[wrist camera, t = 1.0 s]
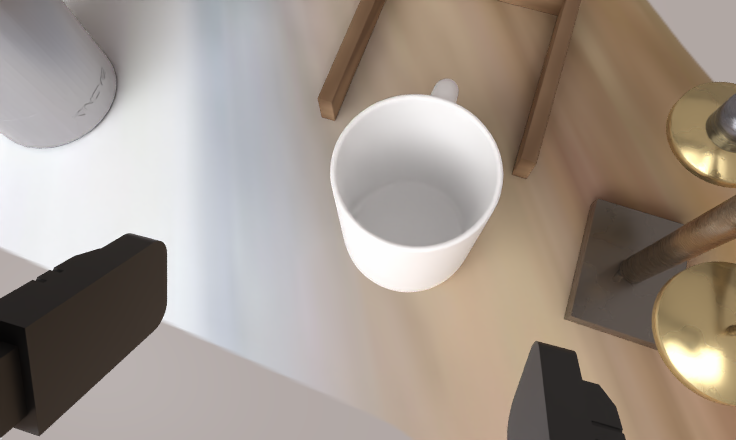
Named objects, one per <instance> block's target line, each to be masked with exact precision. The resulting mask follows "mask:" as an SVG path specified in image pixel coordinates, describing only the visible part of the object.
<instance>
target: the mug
mask: <svg viewBox="0 0 736 440" xmlns="http://www.w3.org/2000/svg"><path fill="white" fill-rule="evenodd" d="M457 97H458V86H457V84H456V82H455V81H454V80H451V79H442V80H440V81H439V82H438V83H437V84H436V85H435V87H434V89H433V91H432V93H431V95H423V94H407V95H399V96H394V97H390V98H387V99H384V100H381V101H379V102H377V103H375V104H373V105H371V106H369V107H367V108H366V109H364V110H363V111H361V112H360V113H359V114H358V115H357V116H356V117H354V118H353V119H352V120H351V122H350V123H349V124H348V125H347V126H346V127H345V129H344V130H343V132H342V133H341V135H340V137H339V139H338V141H337V143H336V145H335V148H334V151H333V154H332V159H331V166H330V177H331V186H332V190H333V194H334V199H335V203H336V207H337V211H338V216H339V220H340V224H341V228H342V233H343V237H344V241H345V245H346V248H347V250H348V253H349V255H350V257H351V259H352V260H353V262H354V264H355V265H356V266H357V268H358V269H359V270H360V271H361V272H362V273H363V274H364V275H365V276H366V277H367V278H369V279H370V280H371V281H373V282H374V283H376V284H378V285H380V286H382V287H384V288H387V289H390V290H394V291H400V292H417V291H423V290H426V289H430V288H432V287H435V286H437V285H439V284H441V283H442V282H444V281H446V280H447V279H448V278H449V277H451V276H452V275H453V274H454V273H455V272H456V271H457V270H458V269H459V267H460V266H461V265H462V263H463V262H464V260H465V259H466V257H467V255H468V254H469V252H470V250H471V249H472V247H473V245H474V243H475V242H476V240H477V238H478V237H479V235H480V233H481V232H482V230H483V228H484V226H485V225H486V223H487V221H488V220H489V218H490V216H491V215H492V213H493V211H494V209H495V207H496V205H497V203H498V200H499V198H500V195H501V190H502V185H503V164H502V160H501V155H500V152H499V149H498V147H497V144H496V142H495V140H494V138H493V137H492V135H491V133H490V132H489V131H488V129H487V128H486V126H485V125H484V124H483V123H482V122H481V121H480V120H479V119H478V118H477V117H476V116H475V115H473V114H472V113H471V112H470V111H468V110H467V109H465V108H464V107H462V106H460V105H458V104H456V102H457Z"/></svg>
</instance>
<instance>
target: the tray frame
mask: <svg viewBox="0 0 736 440" xmlns="http://www.w3.org/2000/svg"><path fill="white" fill-rule="evenodd" d="M499 1H502V2H506V3H510V4H514V5H518V6H522V7H526V8H530V9H533V10H537V11H541V12H545V13H549V14H553V15H557V16H558V17H557V20H556V24H555V27H554V30H553V34H552V37H551V41H550V44H549V48H548V51H547V55H546V58H545V62H544V65H543V69H542V72H541V76H540V79H539V82H538V86H537V89H536V93H535V96H534V100H533V103H532V107H531V110H530V114H529V117H528V121H527V124H526V128H525V131H524V135H523V138H522V141H521V145H520V148H519V152H518V155H517V159H516V162H515V166H514V169H513V173H512V175H516V176H519V177H522V178H527V177H528V175H529V174H530V172H531V171H532V169H533V168H534V166H535V165H536V163H537V159H538V156H539V152H540V148H541V145H542V141H543V138H544V134H545V130H546V127H547V123H548V119H549V116H550V112H551V108H552V105H553V101H554V97H555V94H556V90H557V86H558V83H559V79H560V76H561V72H562V68H563V65H564V61H565V57H566V54H567V50H568V46H569V43H570V39H571V35H572V32H573V28H574V24H575V21H576V17H577V14H578V10H579V6H580V3H581V0H499ZM384 3H385V0H361V1H360V3H359V5H358V8H357V10H356V12H355V14H354V17H353V19H352V21H351V24H350V26H349V28H348V30H347V33H346V35H345V37H344V39H343V42H342V44H341V46H340V49H339V51H338V53H337V55H336V58H335V60H334V62H333V65H332V67H331V69H330V71H329V74H328V76H327V78H326V80H325V83H324V85H323V87H322V90H321V92H320V94H319V96H318V102H319V106H320V111H321V116H322V117H323V118H327V119H330V120H333V121H335V119H336V117H337V115H338V112H339V110H340V107H341V105H342V103H343V100H344V98H345V95H346V93H347V91H348V88H349V86H350V84H351V81H352V79H353V76H354V74H355V72H356V69H357V67H358V65H359V62H360V60H361V57H362V55H363V53H364V50H365V48H366V46H367V43H368V41H369V38H370V36H371V34H372V31H373V29H374V27H375V24H376V22H377V19H378V17H379V15H380V12H381V10H382V7H383V5H384Z"/></svg>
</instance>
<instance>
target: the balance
mask: <svg viewBox="0 0 736 440" xmlns="http://www.w3.org/2000/svg"><path fill="white" fill-rule="evenodd" d="M666 134H667V139H668V142H669V145H670V148H671V150H672V152H673V153H674V155H675V156H676V158H677V159H678V160H679V162H680V163H681V164H682V165H683V166H684V167H685V168H686V169H687V170H688V171H690V172H691V173H692V174H694V175H695V176H697V177H699V178H700V179H702V180H704V181H706V182H709V183H711V184H714V185H718V186H722V187H729V188H736V84H734V83H727V82H712V83H706V84H702V85H699V86H697V87H694V88H693V89H691V90H689V91H688V92H687V93H685V94H684V95H683V96H682V97H681V98H680V99H679V100H678V101H677V102H676V103H675V104H674V106H673V107H672V109H671V110H670V113H669V115H668V118H667V123H666ZM735 238H736V195H735V196H733V197H732V198H730V199H728V200H726V201H725V202H723V203H721V204H720V205H718V206H716V207H714V208H713V209H711V210H709V211H708V212H706V213H704V214H702V215H701V216H699V217H697V218H696V219H694V220H692V221H690V222H689V223H687V224H685V225H684V224H680V223H677V222H674V221H670V220H667V219H664V218H660V217H657V216H654V215H650V214H647V213H644V212H640V211H637V210H634V209H630V208H627V207H624V206H621V205H617V204H614V203H611V202H607V201H604V200H601V199H597V200H596V201H595V202H594V203H592V204H591V206H590V210H589V215H588V219H587V223H586V227H585V232H584V236H583V240H582V245H581V249H580V253H579V258H578V262H577V266H576V271H575V275H574V279H573V284H572V288H571V292H570V297H569V301H568V305H567V309H566V314H565V318H564V319H566V320H569V321H572V322H575V323H578V324H581V325H584V326H587V327H590V328H593V329H596V330H599V331H602V332H605V333H608V334H611V335H614V336H617V337H620V338H623V339H626V340H629V341H632V342H635V343H638V344H641V345H644V346H647V347H650V348H653V349H656V350H658V351H659V354H660V356H661V358H662V359H663V361H664V363H665V364H666V366H667V367H668V368H669V370H670V371H671V372H672V374H673V375H674V376H675V377H676V378H677V379H678V380H679V381H680V382H681V383H682V384H683V385H685V386H686V387H687V388H688V389H690V390H691V391H693V392H694V393H696V394H698V395H699V396H701V397H703V398H705V399H708V400H710V401H712V402H716V403H719V404H723V405H729V406H736V264H734V263H728V262H707V263H702V264H698V265H695V266H692V267H690V268H688V269H686V265H687V261H688V260H690V259H692V258H694V257H696V256H698V255H701V254H703V253H705V252H707V251H709V250H711V249H714V248H716V247H718V246H720V245H722V244H725V243H727V242H729V241H731V240H733V239H735Z"/></svg>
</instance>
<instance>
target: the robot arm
mask: <svg viewBox="0 0 736 440" xmlns="http://www.w3.org/2000/svg"><path fill="white" fill-rule="evenodd" d="M115 92H116V74H115V71H114V68H113V65H112V64H111V62H110V61H109V59H108V57H107V56H106V55H105V54H104V52H103V51H102V50H101V49H100V47H99V46H98V45H97V44H96V42H95V41H94V40H93V39H92V37H91V36H90V35H89V34H88V32H87V31H86V30H85V29H84V27H83V26H82V25H81V23H80V22H79V21H78V20H77V18H76V17H75V16H74V15H73V13H72V12H71V11H70V10H69V8H68V7H67V6H66V5H65V3H64V2H63V1H62V0H0V133H1V134H3V135H4V136H6V137H7V138H9V139H10V140H12V141H13V142H15V143H17V144H20V145H23V146H26V147H32V148H52V147H57V146H61V145H64V144H68V143H70V142H72V141H74V140H76V139H79V138H80V137H82V136H83V135H85V134H86V133H88V132H89V131H91V130H92V129H93V128H94V127H95V126H96V125H97V124H98V123H99V122H100V121H101V120H102V119H103V118H104V116H105V115H106V113H107V112H108V111H109V109H110V107H111V104H112V102H113V100H114V97H115ZM166 306H167V249H166V246H165V244H164V243H163V242H161V241H158V240H154V239H150V238H147V237H143V236H139V235H135V234H131V233H128V234H125V235H123V236H121V237H120V238H118V239H116V240H115V241H113V242H111V243H110V244H108V245H106V246H105V247H103V248H101V249H96V250H93V251H90V252H86V253H83V254H80V255H76V256H74V257H72V258H70V259H68V260H67V261H65V262H63V263H61V264H60V265H58V266H56V267H54V270H53V271H51V270H49V271H47V272H46V273H44V274H42V275H40V276H39V277H37V279H36V281H34V280H32V281H30V282H28V283H26V284H25V285H23V286H21V287H20V288H18V289H16V290H14V291H13V292H11V293H9V294H7V295H6V296H4V297H2V298H0V440H2V436H3V435H5V434H6V433H7V432H8V431H9V430H11V429H12V428H13V427H14V428H17V429H19V430H23V431H25V432H28V433H31V434H34V435H37V436H40V435H41V434H42V433H43V432H44V431H46V430H47V429H48V428H49V427H50V426H51V425H52V424H53V423H54V422H55V421H56V420H57V419H59V418H60V417H61V416H62V415H63V414H64V413H65V412H66V411H67V410H68V409H69V408H70V407H72V406H73V405H74V404H75V403H76V402H77V401H78V400H79V399H80V398H81V397H82V396H84V394H86V393H87V392H88V391H89V390H90V389H91V388H92V387H93V386H94V385H95V384H97V383H98V382H99V381H100V380H101V379H102V378H103V377H104V376H105V375H106V374H107V373H108V372H110V371H111V370H112V369H113V368H114V367H115V366H116V365H117V364H118V363H119V362H121V360H123V359H124V358H125V357H126V356H127V355H128V354H129V353H130V352H131V351H132V350H134V349H135V348H136V347H137V346H138V345H139V344H140V343H141V342H142V341H143V340H144V339H146V338H147V336H149V334H151V333H152V332H153V331H154V330H155V329H156V328H157V327H158V325H159V324H160V322H161V320H162V319H163V316H164V314H165V310H166ZM622 430H623V429H622V425H621V422H620V419H619V415H618V412H617V408H616V406H615V405H614V403H613V402H612V401H611V400H610V398H609V397H608V396H607V394H606V393H605V392H604V390H603V389H602V388H601V387H600V385H598V384H595V383H591V382H587V381H584V380H582V377H581V372H580V368H579V363H578V359H577V355H576V352H575V351H572V350H568V349H565V348H561V347H557V346H553V345H549V344H546V343H542V342H538V341H536V342H534V344H533V345H532V348H531V350H530V353H529V356H528V359H527V362H526V364H525V367H524V370H523V373H522V376H521V379H520V382H519V385H518V388H517V390H516V393H515V396H514V399H513V402H512V406H511V410H510V415H509V421H508V431H507V440H626V439H625V436H624V434H623V433H622Z"/></svg>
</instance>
